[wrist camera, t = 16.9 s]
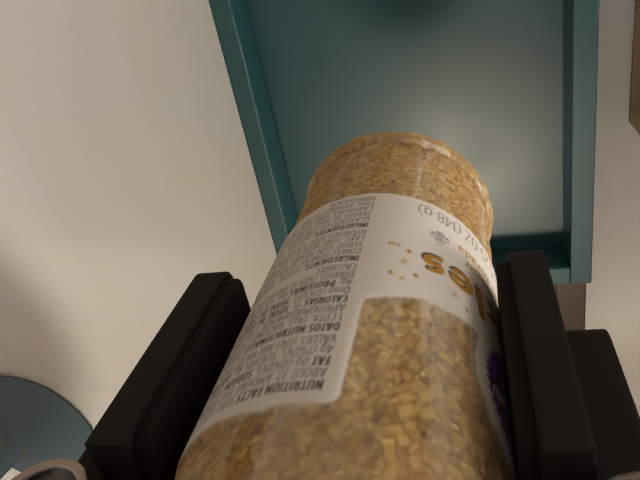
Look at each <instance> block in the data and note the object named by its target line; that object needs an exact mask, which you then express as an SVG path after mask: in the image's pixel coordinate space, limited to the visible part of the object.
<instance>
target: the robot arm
mask: <svg viewBox="0 0 640 480" xmlns="http://www.w3.org/2000/svg"><path fill="white" fill-rule="evenodd" d="M496 281H497V297H498V311H499V320H500V330H501V339H502V347H503V356H504V365H505V375H506V384H507V392H508V401H509V410H510V419H511V427H512V435H513V444H514V453H515V461H516V469H517V478H518V480H640V417H639V414H638V412H637V409H636V406H635V403H634V401H633V398H632V395H631V392H630V390H629V387H628V384H627V381H626V378H625V376H624V373H623V370H622V367H621V365H620V362H619V359H618V356H617V354H616V351H615V348H614V345H613V343H612V340H611V338H610V335H609V333H608V332H607V331H606V330H605V329H595V330H565V326H564V323H563V319H562V315H561V311H560V308H559V304H558V300H557V296H556V292H555V289H554V285H553V281H552V277H551V274H550V270H549V266H548V262H547V259H546V255H545V252H544V250H536V251H522V252H508V261H504V262H496ZM250 310H251V309H250V306H249V302H248V299H247V296H246V293H245V290H244V286H243V284H242V282H241V281H240V280H239V279H233V276H232V275H231V274H230V273H229V272H214V273H200V274H197V275H196V276H195V277H194V279H193V280H192V282H191V283H190V285H189V286H188V288H187V289H186V291H185V292H184V294H183V295H182V297H181V298H180V300H179V301H178V303H177V304H176V306H175V308H174V309H173V311H172V312H171V314H170V315H169V317H168V318H167V320H166V321H165V323H164V324H163V326H162V327H161V329H160V330H159V332H158V333H157V335H156V336H155V338H154V339H153V341H152V342H151V344H150V345H149V347H148V348H147V350H146V351H145V353H144V354H143V356H142V357H141V359H140V360H139V362H138V363H137V365H136V366H135V368H134V369H133V371H132V372H131V374H130V375H129V377H128V379H127V380H126V382H125V383H124V385H123V386H122V388H121V389H120V391H119V392H118V394H117V395H116V397H115V398H114V400H113V401H112V403H111V404H110V406H109V407H108V409H107V410H106V412H105V413H104V415H103V416H102V418H101V419H100V421H99V422H98V424H97V425H96V427H95V428H94V430H93V431H92V433H91V434H90V436H89V437H88V439H87V440H86V442H85V443H84V445H85V447H86V450H85V451H84V453H83V454H82V456H81V457H80V459H79V460H78V461H75V460H71V459H68V458H62V459H52V460H48V461H45V462H41V463H38V464H36V465H34V466H32V467H30V468H28V469H26V470H24V471H23V472H21V473H20V474H18V475H17V476H16V477H14V478H13V479H11V480H174V479H175V474H176V470H177V466H178V463H179V461H180V458H181V456H182V454H183V452H184V449H185V447H186V445H187V443H188V441H189V439H190V436H191V434H192V432H193V430H194V428H195V426H196V424H197V422H198V420H199V418H200V416H201V414H202V412H203V409H204V407H205V405H206V403H207V401H208V399H209V397H210V395H211V393H212V391H213V389H214V387H215V384H216V382H217V380H218V378H219V376H220V374H221V372H222V370H223V368H224V366H225V363H226V361H227V359H228V357H229V355H230V353H231V351H232V349H233V347H234V344H235V342H236V340H237V338H238V336H239V334H240V332H241V329H242V327H243V325H244V323H245V321H246V319H247V317H248V315H249V313H250Z"/></svg>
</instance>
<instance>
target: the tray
mask: <svg viewBox="0 0 640 480" xmlns="http://www.w3.org/2000/svg"><path fill="white" fill-rule="evenodd" d="M209 4H210V8H211V11H212V15H213V19H214V22H215V26H216V30H217V34H218V37H219V41H220V45H221V49H222V52H223V56H224V60H225V63H226V67H227V71H228V75H229V78H230V82H231V86H232V89H233V93H234V97H235V101H236V104H237V108H238V112H239V116H240V119H241V123H242V127H243V130H244V134H245V138H246V142H247V145H248V149H249V153H250V156H251V160H252V164H253V168H254V171H255V175H256V179H257V183H258V186H259V190H260V194H261V197H262V201H263V205H264V209H265V212H266V216H267V220H268V224H269V227H270V231H271V235H272V238H273V242H274V246H275V250H276V253H277V255H278V253H279V251H280V249H281V247H282V245H283V243H284V242H285V240H286V238H287V237H288V235H289V234H290V233H291V231H292V230H293V229H294V227H295V225H296V222H297V221H298V218H299V216H300V213H301V211H302V209H303V206H304V203H305V200H306V195H307V189H308V185H309V183H310V181H311V178H312V177H313V175H314V174H315V172H316V170H317V169H318V167H319V165H320V164H321V163H322V162H323V161H324V160H325V159H326V158H327V157H328V156H329V155H330V154H331V153H332V152H334V151H335V150H336V149H338V148H340V147H342V146H344V145H345V144H347V143H348V142H350V141H351V140H353V139H354V138H356V137H359V136H363V135H369V134H374V133H382V132H392V131H396V132H405V133H406V132H414V133H418V134H422V135H425V136H427V137H430V138H432V139H437V140H439V141H442V142H444V143H445V144H446V145H448V146H449V147H451V148H452V149H454V150H455V151H456V152H458V153H459V154H460V155H461V156H462V157H463V158H465V159H466V160H467V161H469V162H470V163H471V164H472V166H473V167H474V168H475V169H476V171H477V172H478V174H479V176H480V177H481V179H482V181H483V182H484V184H485V185H486V187H487V189H488V194H489V199H490V203H491V206H492V211H493V226H492V235H491V238H490V242H489V243H490V248H491V255H492V266H493V268H494V272H495V275H496V262H504V261H508V252H522V251H536V250H544V252H545V255H546V259H547V262H548V266H549V270H550V274H551V277H552V281H553V285H557V284H570V283H571V284H578V283H591V273H592V239H593V205H594V170H595V136H596V102H597V68H598V34H599V0H209Z"/></svg>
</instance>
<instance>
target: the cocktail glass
mask: <svg viewBox="0 0 640 480" xmlns="http://www.w3.org/2000/svg"><path fill="white" fill-rule="evenodd" d="M91 433H92V429H91V427H90V426H89V424H88V423H87V421H86V420H85V419H84V418H83V416H82V415H81V414H80V413H79V412H78V411H77V410H76V409H75V408H74V407H73V406H72V405H70V404H69V403H68V402H67V401H65V400H64V399H63V398H61V397H60V396H58V395H57V394H55V393H53V392H52V391H50V390H48V389H46V388H44V387H42V386H40V385H38V384H35V383H32V382H30V381H27V380H23V379H19V378H15V377H7V376H0V479H1V478H2V477H3V476H4V475H5V474H6V473H7V472H8V471H9V470H10V469H11V468H14V469H16V470H18V471H20V472H23V471H24V470H26V469H28V468H30V467H32V466H34V465H36V464H38V463H41V462H45V461H48V460H52V459H62V458H68V459H71V460H75V461H78V460H79V459H80V457H81V456H82V454H83V453H84V451H85V450H86V447H85V445H84V443H85V442H86V440H87V439H88V437H89V436H90V434H91Z"/></svg>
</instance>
